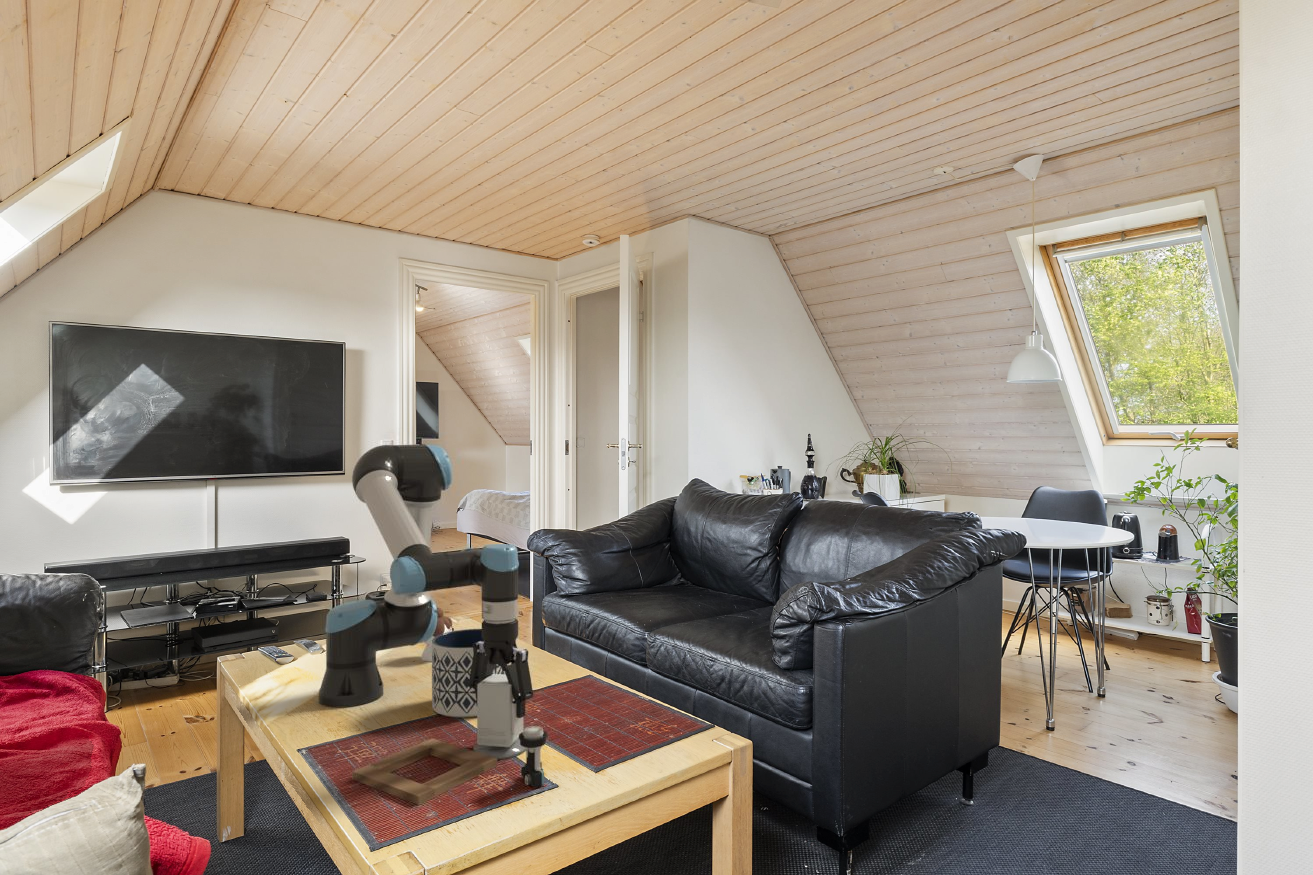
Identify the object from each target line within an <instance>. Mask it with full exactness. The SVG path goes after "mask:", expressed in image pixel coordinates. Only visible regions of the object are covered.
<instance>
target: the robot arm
mask: <svg viewBox="0 0 1313 875" xmlns="http://www.w3.org/2000/svg"><path fill="white" fill-rule="evenodd" d="M351 478H352V479H351V482H352V488H353V491H354V492H355V495H356V497H357V499H358V500H359V501H360V502H361V503H364V504H366V507H367V508H368V510H369V512H370V514H371V516H372V519H373V521H374V523H375V524H376V527H377V529H378V530H379V532H380V535H381V536H382V539H383V541H384V543H385V544H386V546H387V548H388V551H389V554H390V555H391V557H392V558H393V560H392V561H391V565H390V568H389V579H390V581H391V587H390V589H388V590H387V591H386V592H385V593H384V595H383V596H384V597H383V603H381V604H377V603H376V601H375V600H374V599H362V600H359V599H358V600H353V601H348V602H345V603H341V604H339V605H337V606H334V607H333V608H331V609H330V610H329V611H328V612H327V614H326V623H325V628H324V629H325V630H324V631H325V645H326V646H325V649H326V650H325V653H326V654H325V657H326V658H325V660H326V662H325V664H326V666H325V672H324V676H323V678H322V682H321V686H320V688H319V690H318V702H319V704H320V705H322V706H326V707H333V708H345V707H354V706H359V705H364V704H368V703H371V702H373V701H376V700H378V699H380V698H381V697H382V696H383V695H384V682H383V680H382V678H381V674H380V672H379V668H378V665H377V652H379V651H386V650H390V649H396V648H397V649H398V648H402V647H407V646H411V647H413V646H416V645H418V644H422V643H425V642H426V641H427V640H429V639H430V638H431V637H432V635H433V633H434V631H435V629H436V625H437V614H436V611H437V608H438V607H437V605H436V602H435V601H434V600H433V598H431V594H430V593H429V592H433V591H438V590H445V589H446V590H447V589H449V590H450V589H455V588H461V587H469V586H478V587H481V619H482V622H481V629H482V639H483V640H484V641H480V642H477V643H474V644H473V653H474V654H473V660H472V666H471V672H470V679H469V687H470V688H473V689H475V692H476V705H477V685H478V684H479V683H480V682H481V681H483V680H484V679H485V678H487V677H489V676H491V675H492V673H493V671H494V668H495V666H496V664H497V665H499V666H501V668H502V670H503V671H504V672H505V674H506V677H507V680H508V683H509V684H511V685H512V694H513V697H514V700H515V701H513V702H511V732H512V734H513V735H515V734H517V733H519V732H524V717H525V716H526V701H527V700H530V699H532V698H533V697H534V690H533V684H532V678H531V672H530V668H529V667H530V666H529V661H528V660H529V650H528V649H527V648H524V649H520V648H519V647H518V645H517V639H518V637H519V620H518V619H517V618H518V617H519V566H520V562H519V557H518V556H519V555H518V548H517V547H516V546H515V545H513V544H507V543H506V544H505V543H494V544H488V545H484V546H483V547H482V548H481V549H480V548H478V547H473V548H471V547H467V548H463V549H461V550H460V551H453V552H443V553H433V552H432V550H431V549H430V546H431V537H432V536H431V535H432V527H433V515H434V508H435V504H437V503H438V502H439V501H440V500H441V498H442V491H446V490H448V489H449V488H450V487H451V484H452V482H453V470H452V463H451V460H450V458H449V455H448V452H446V450H445V448H443V447H441V446H440V445H433V444H426V443H423V444H398V445H397V444H394V445H393V444H383V445H382V444H381V445H378V446H375V447H373V448H371V449H369V450H367V451H366V452H365V453H364V454H362V455H361V456H360V457H359V459H358V461H357V462H356V463H355V465H354V468H353V470H352V476H351ZM485 655H486V656H485ZM507 664H509V665H507ZM475 679H476V680H475ZM519 693H520V695H519Z"/></svg>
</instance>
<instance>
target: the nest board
mask: <svg viewBox="0 0 1313 875" xmlns="http://www.w3.org/2000/svg"><path fill="white" fill-rule="evenodd" d="M428 756H433V757H436V758H439V759H441V760H445V761H447V762H450V763H454V764H457V765H460V766H457V767H455V768H453V769H451V770H449V771H446V772H445V773H442V774H440V775H439V776H436V777H433V778H431V779H430V780H427V781H425V782H423V783H421V782H418V781H417V782H416V781H414V780H411V779H408V778H405V777H404V776H401V775H397V774H396V773H395V774H394V773H392V772H394V771H396V770H399V769H401V768H403V767H406V766H407V765H410V764H412V763H415V762H417V761H419V760H422V759H424V758H426V757H428ZM497 766H498V760H497V758H494V757H491V756H488V755H484V754H481V753H478V752H475V751H474V750H471V749H469V748H465V747H462V746H459V745H455V744H453V743H452V744H451V743H449V742H445V741H442V740H439V739H436V738H430V739H427V740H425V741H422V742H420V743H417V744H415V745H413V746H412V745H411V746H410V747H408V748H405V749H403V750H401V751H398V752H396V753H393V754H391V755H389V756H386V757H383V758H381V759H380V760H376V761H374V762H371V763H369V764H367V765H365V766H362V767H360V768H357V769H354V770H352V780H354V781H356V782H359V783H361V784H364V785H366V786H369V787H371V788H374V789H377V790H380V791H382V792H385V793H387V794H389V795H391V796H394V797H397V798H398V799H399V798H400V799H402V800H405V801H408V802H410V803H412V804H415V805H418V806H420V805H421V804H424V803H427V802H428V801H430V800H432V799H434V798H436V797H438V796H440V795H442V794H444V793H446V792H448V791H450V790H452V789H454V788H456V787H459V786H460V785H463V784H464V783H466V782H468V781H470V780H472V779H474V778H476V777H478V776H480V775H482V774H485V773H486V772H488V771H490V770H491V769H495V767H497Z"/></svg>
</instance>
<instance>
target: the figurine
mask: <svg viewBox="0 0 1313 875" xmlns="http://www.w3.org/2000/svg"><path fill="white" fill-rule="evenodd" d="M436 608H437V611H436V614H437V625H436V629H435V631H434V633H433V635H432V637H431V638H430V639H429V640H427V641H426V642H424V644H426V645H425V647H424V649H423V651H422V653H421V657H420V658H421V661H423V662H426V663H428V662H429V663H432V640H433V639H434V638H435V637H437V636H438V635H441V634H444V633H448V632H452V631H453V620H452V619H451V618H450V617H449V616H445V615H444V611H443V609H442V608H440V607H436Z"/></svg>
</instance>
